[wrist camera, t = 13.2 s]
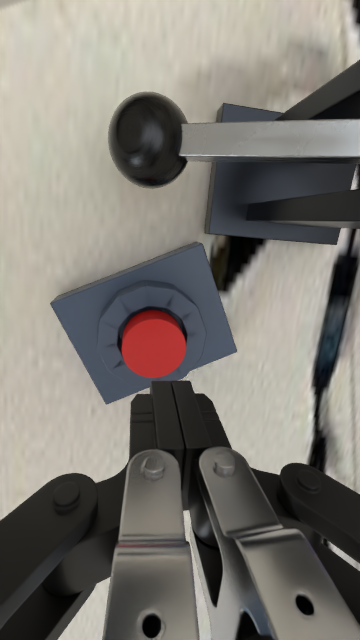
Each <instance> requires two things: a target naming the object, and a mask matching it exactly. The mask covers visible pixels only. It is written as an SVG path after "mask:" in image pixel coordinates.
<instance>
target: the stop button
mask: <svg viewBox="0 0 360 640" xmlns="http://www.w3.org/2000/svg"><path fill="white" fill-rule="evenodd" d="M185 353H186V341H185V338H184V335H183V333H182V331H181V329H180V326H179V324H178V323H177V321H176V320H175V319H174V318H173V317H172V316H171V315H169V314H167V313H165V312H163V311H159V310H147V311H143V312H140V313H138V314H137V315H135V316H134V317H132V318H131V319H130V320H129V321H128V323H127V324H126V326H125V328H124V331H123V338H122V356H123V359H124V361H125V363H126V365H127V366H128V367H129V368H130V369H131V370H132V371H133V372H135V373H136V374H138V375H141V376H144V377H149V378H156V377H162V376H165V375H167V374H169V373H171V372H173V371H174V370H175V369H176V368H177V367H178V366H179V365H180V364H181V362H182V361H183V359H184V356H185Z"/></svg>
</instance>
